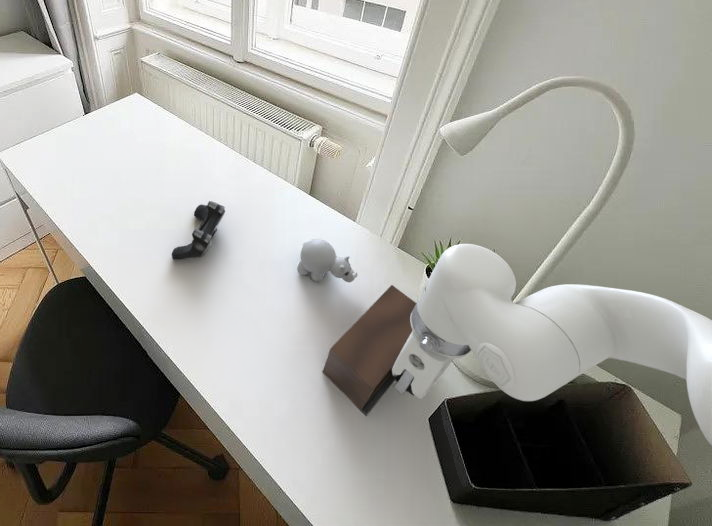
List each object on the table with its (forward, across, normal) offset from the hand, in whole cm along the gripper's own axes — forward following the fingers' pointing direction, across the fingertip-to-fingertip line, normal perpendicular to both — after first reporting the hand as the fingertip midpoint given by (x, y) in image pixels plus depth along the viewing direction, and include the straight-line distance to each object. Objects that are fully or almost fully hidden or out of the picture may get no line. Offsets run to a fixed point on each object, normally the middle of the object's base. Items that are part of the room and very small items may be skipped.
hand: (406, 384), depth 63 cm
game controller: (+6, -4, +48) cm, 48 cm away
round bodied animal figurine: (+7, +10, +23) cm, 26 cm away
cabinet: (+7, +4, +7) cm, 11 cm away
